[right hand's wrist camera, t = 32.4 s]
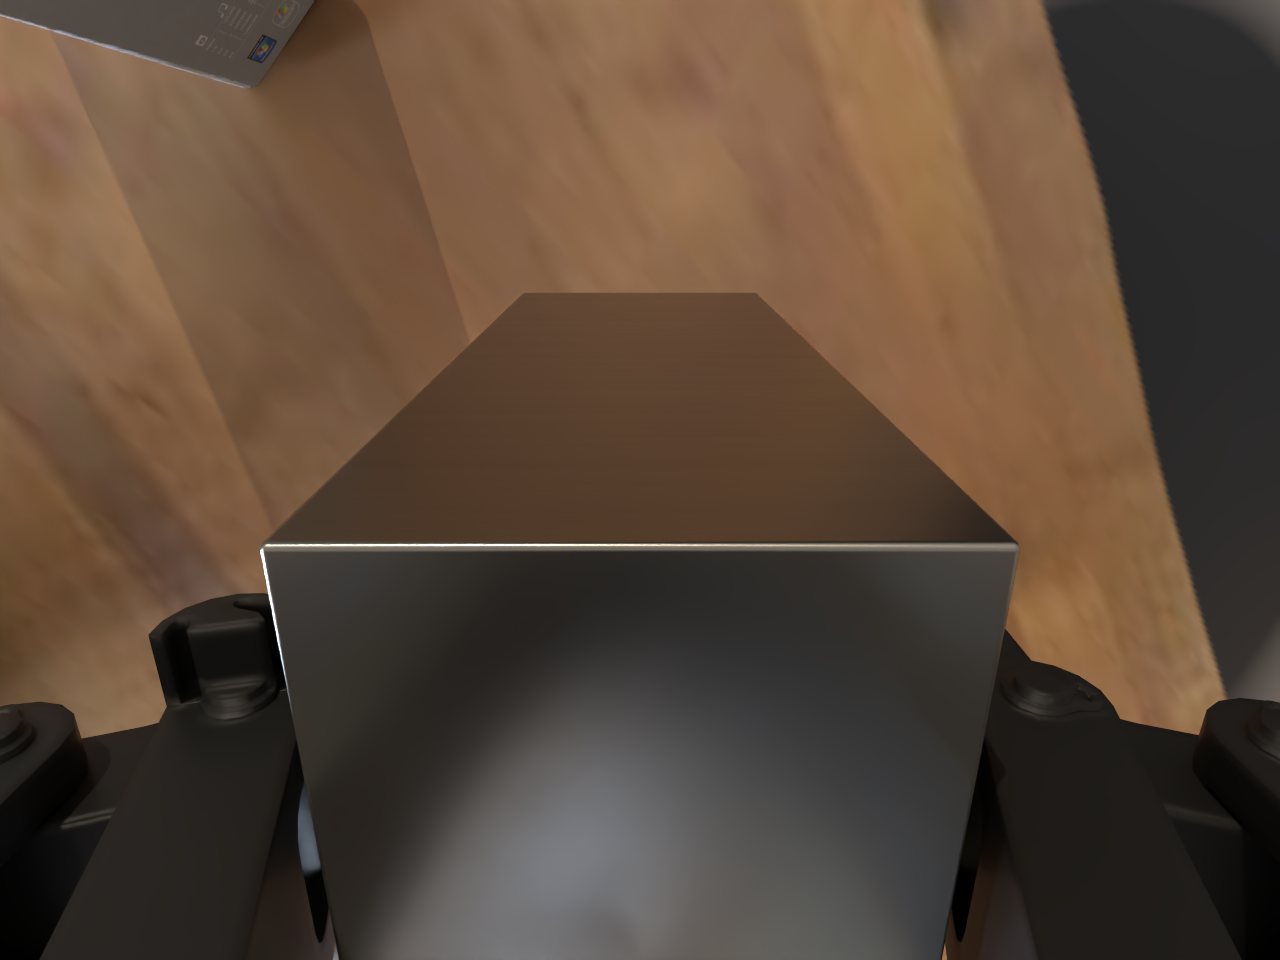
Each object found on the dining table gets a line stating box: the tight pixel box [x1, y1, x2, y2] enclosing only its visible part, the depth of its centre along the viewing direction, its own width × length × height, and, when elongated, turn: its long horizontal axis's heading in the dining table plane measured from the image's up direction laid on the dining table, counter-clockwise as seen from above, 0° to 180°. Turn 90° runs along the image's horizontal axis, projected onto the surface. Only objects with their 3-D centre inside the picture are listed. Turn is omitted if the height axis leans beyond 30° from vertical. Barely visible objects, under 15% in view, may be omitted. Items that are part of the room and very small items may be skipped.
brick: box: [261, 293, 1020, 960], centre depth 12 cm, size 5×7×12 cm
